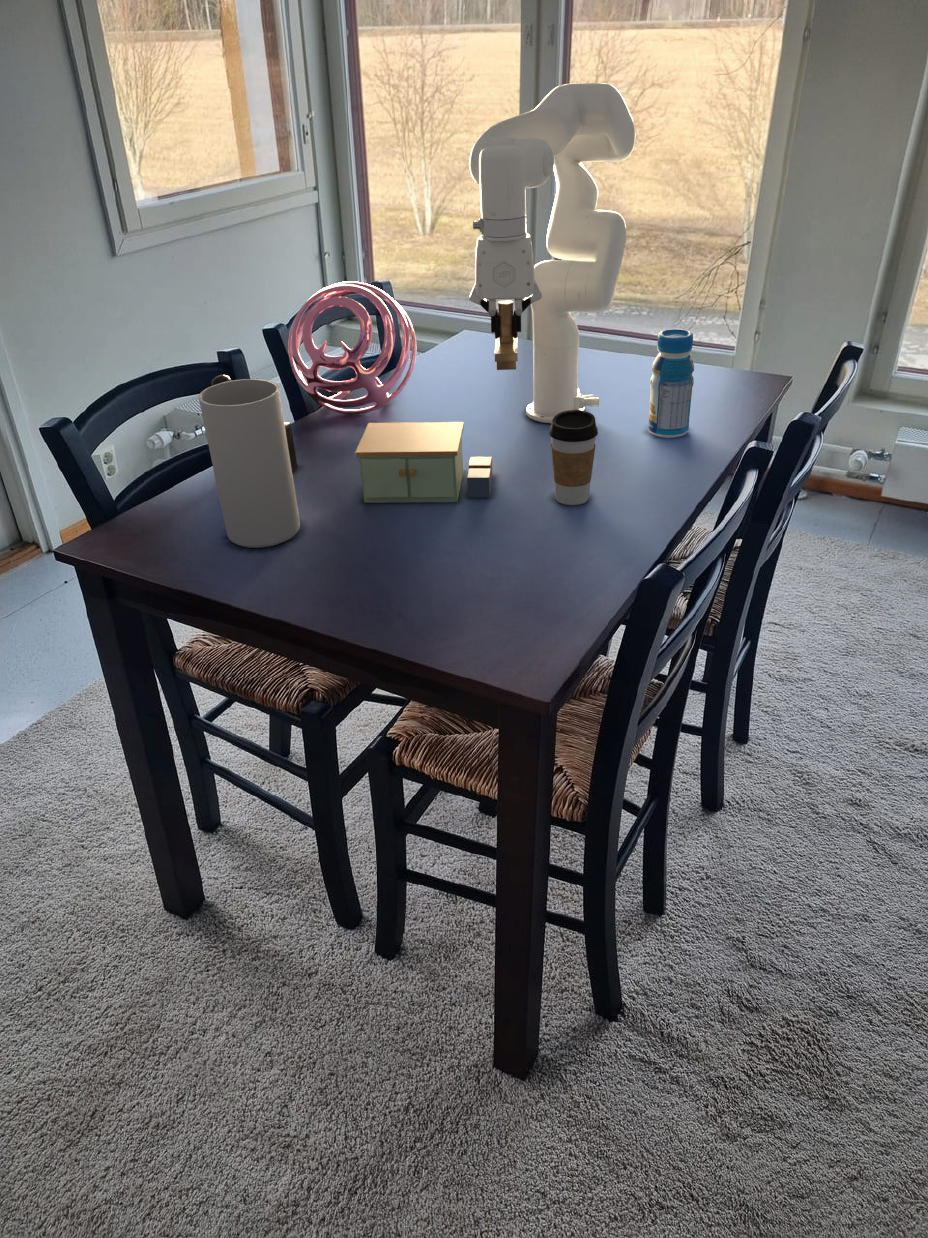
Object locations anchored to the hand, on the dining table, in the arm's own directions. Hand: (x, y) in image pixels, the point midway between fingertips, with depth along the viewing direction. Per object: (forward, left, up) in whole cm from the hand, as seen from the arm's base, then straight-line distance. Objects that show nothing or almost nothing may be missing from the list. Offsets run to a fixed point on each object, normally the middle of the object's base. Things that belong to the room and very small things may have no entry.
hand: (506, 335), depth 168 cm
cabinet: (+17, +11, -25) cm, 32 cm away
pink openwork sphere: (+36, -31, -25) cm, 54 cm away
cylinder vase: (+41, +29, -25) cm, 56 cm away
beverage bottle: (-32, -15, -25) cm, 43 cm away
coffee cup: (-12, +16, -25) cm, 32 cm away
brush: (0, 0, -4) cm, 4 cm away
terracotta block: (+7, +8, -23) cm, 25 cm away
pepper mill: (+50, +4, -25) cm, 56 cm away
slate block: (+7, +13, -23) cm, 27 cm away
